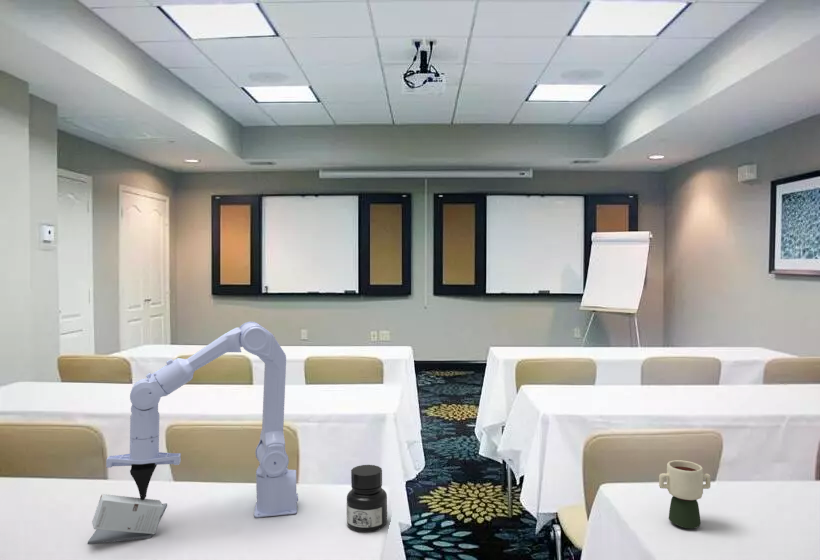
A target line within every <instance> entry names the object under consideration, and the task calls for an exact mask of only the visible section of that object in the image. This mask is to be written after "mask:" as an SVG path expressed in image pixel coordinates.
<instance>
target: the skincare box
mask: <svg viewBox="0 0 820 560" xmlns="http://www.w3.org/2000/svg"><path fill="white" fill-rule="evenodd" d="M162 504H163V503H162V501H161V500H160V499H153V498H152V499H151V498H145V499H144V500H140V497H135V496H134V497H133V496H125V495H123V496H122V495H115V494H114V495H113V494H106V493H102V494H101V495H100V498H99V500H98V504H97V506H96V509H95V513H94V515H93V519H92V521H91V522H92V523H91V524H92V528H93V530H94V531H96V530H108V531H121V532H134V533H147V534H153V535H155V534H156V531H157V529H158V525H159V523H158V522H160V521H159V519H160V516H161V513H162V509H163V505H162ZM160 520H161V519H160Z"/></svg>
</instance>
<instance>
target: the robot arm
mask: <svg viewBox="0 0 820 560" xmlns="http://www.w3.org/2000/svg"><path fill="white" fill-rule="evenodd" d="M241 348H243V349H244V350H245V351H246V352H248V353H250V354H252V355H254V356H257V357H258V358H259V359H260V360H261V361H262V362H263V363H264V371H263V372H264V375H263V376H264V377H263V395H262V396H263V397H262V398H263V401H262V421H261V422H262V424H261V431H260V435H259V442H258V444H257V446H256V447H255V453H254V454H255V458H256V460H257V461H258V462H259V465H258V466H257V468H256V470H255V480H256V481H255V482H256V483H255V485H256V486H255V487H256V488H255V489H256V502H255V507H254V512H253V513H254V514H253V517H254V518H265V517H275V516H284V515H294V514H295V515H296V514H297V512H298V508H297V506H298V505H297V504H298V503H297V502H299V494H298V492H297V470H296V469H289V468H288V467H289V466H288V465H289V462H290V461H289V456H288V454H287V452H286V440H285V434H284V422H285V421H284V420H285V398H286V396H285V395H286V375H287V371H286V370H287V355H286V353H285V351H284V349H283V348H282V347H281V345H280V343H279V342H278V341H277V339H276V337H275V336H274V334H273V333H272V332H271V331H269V330H268V329H267V328H265V327H263V326H262V325H261V324H259V323H258V322H256V321H246V322H244V323H242V324H241V325H240V326H239V327H237V326H236V327H234V328H232V329H231V330H228V332H226V333H223V334H222V335H221V336H219V337H217V338H216V339H214V340H213V341H212V342H210V343H208V344H206V346H204V347H202V348H201V349H200V350H198V351H197V352H195V353H194V354H192V355H190V356H189V357H188V358H179V357H177V358H175V359H174V360H173V358H170V359H168V360H167V361H166V362H165V363H166V364H165V365H164V366H162V367H161V368H159V369H158V370H156V371H154V372H153V373H151V372H148V373H146V375H145V378H141V379H139V380H138V381H136V382H135V383H134V384H133V386H132V387H131V391H130V395H129V400H130V403H131V407H130V413H131V414H130V415H129V416H130V417H129V420H130V421H129V422H130V423H129V453H126V454H118V455H109V456H107V458H106V461H105V462H106V463H105V465H106V467H105V468H110V469H111V468H113V467H130V469H129V473H130V476H131V477H132V478H133V480H134V482H135V485H136V487H137V490H138V493H139V498H140V500H144V499H147V492H148V488H149V484H150V482H151V479H152V476H153V474H154V471H155V469H156V468H157V465H174V466H180V464H181V460H182V459H181V458H182V457H181V456H182V455H181V454H182V453H177V452H176V453H175V452H162V451H161V452H160V451H159V450H160V412H159V402H160V400H161V398H162V397H167V396H168V395H171V394H172V393H173V392H175V391H177V390H178V389H179V388H181V387H183V386H184V385H187V383H189V382H191V381H192V380H193V378H194V374H195V371H197V370H199V369H201V368H202V367H204V366H206V365H207V364H209V363H211V362H213V361H214V360H216V359H218V358H220V357H221V356H223V355H225V354H226V353H242V349H241Z"/></svg>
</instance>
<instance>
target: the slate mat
mask: <svg viewBox="0 0 820 560" xmlns="http://www.w3.org/2000/svg"><path fill="white" fill-rule="evenodd" d="M162 505H163V509H162V513H161V516H160V519H159V522H160V520H161V518H162V516H164V513H165V511H166V508H167V507H168V503H162ZM159 522H158V524H159ZM153 535H154V534H147V533H134V532H121V531H108V530H94V532H93V533H92V535H91V536H90V538H89V539H88V541H87V545H92V544H102V543H111V542H113V543H114V542H120V541H121V542H123V541H130V540H131V541H132V540H142V539H151V538H152V536H153Z"/></svg>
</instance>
